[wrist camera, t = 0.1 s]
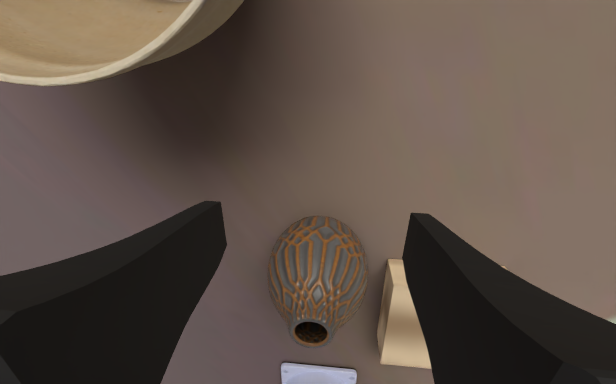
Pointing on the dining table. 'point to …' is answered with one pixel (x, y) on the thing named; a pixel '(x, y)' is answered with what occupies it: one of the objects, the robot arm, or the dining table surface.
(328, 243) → the vase
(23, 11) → the planter bowl
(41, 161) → the dining table surface
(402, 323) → the block
